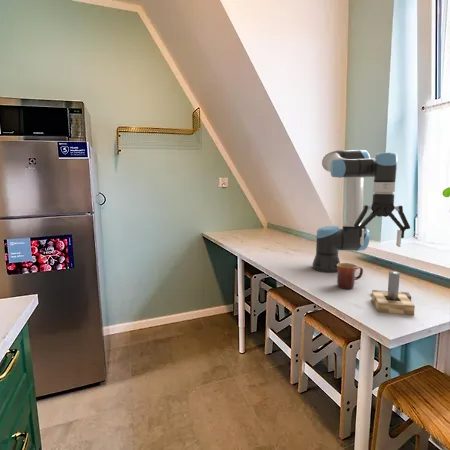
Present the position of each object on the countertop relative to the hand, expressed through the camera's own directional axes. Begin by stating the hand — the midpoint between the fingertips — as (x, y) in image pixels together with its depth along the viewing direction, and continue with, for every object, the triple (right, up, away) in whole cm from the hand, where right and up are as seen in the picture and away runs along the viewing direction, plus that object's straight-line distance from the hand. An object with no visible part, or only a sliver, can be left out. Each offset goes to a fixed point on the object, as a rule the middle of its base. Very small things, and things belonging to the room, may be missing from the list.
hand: (379, 245), depth 125 cm
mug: (-5, -21, +18) cm, 28 cm away
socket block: (+2, -24, -4) cm, 24 cm away
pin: (+2, -24, -5) cm, 24 cm away
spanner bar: (+7, -22, +6) cm, 24 cm away
